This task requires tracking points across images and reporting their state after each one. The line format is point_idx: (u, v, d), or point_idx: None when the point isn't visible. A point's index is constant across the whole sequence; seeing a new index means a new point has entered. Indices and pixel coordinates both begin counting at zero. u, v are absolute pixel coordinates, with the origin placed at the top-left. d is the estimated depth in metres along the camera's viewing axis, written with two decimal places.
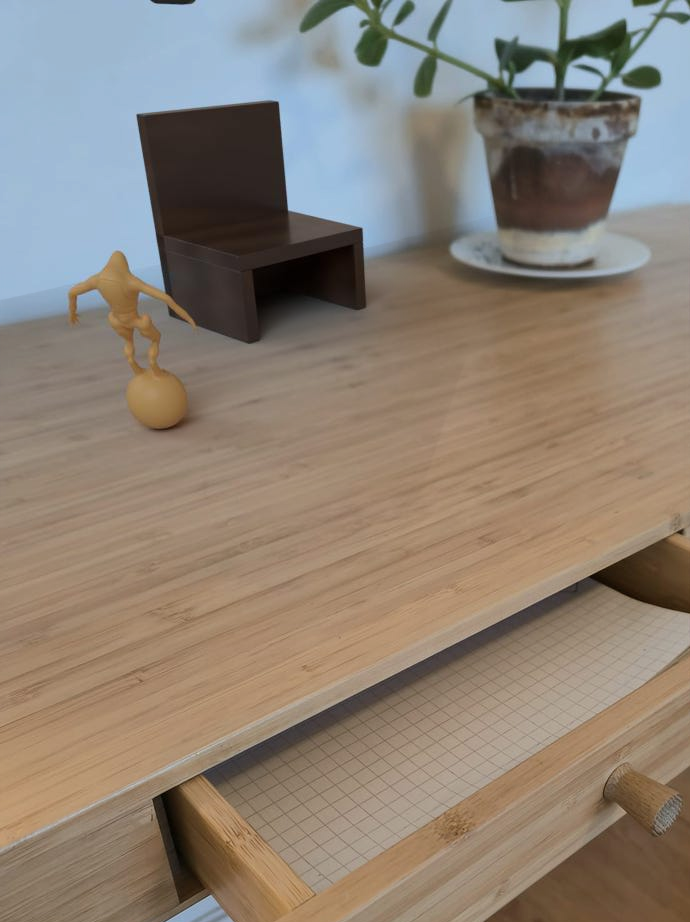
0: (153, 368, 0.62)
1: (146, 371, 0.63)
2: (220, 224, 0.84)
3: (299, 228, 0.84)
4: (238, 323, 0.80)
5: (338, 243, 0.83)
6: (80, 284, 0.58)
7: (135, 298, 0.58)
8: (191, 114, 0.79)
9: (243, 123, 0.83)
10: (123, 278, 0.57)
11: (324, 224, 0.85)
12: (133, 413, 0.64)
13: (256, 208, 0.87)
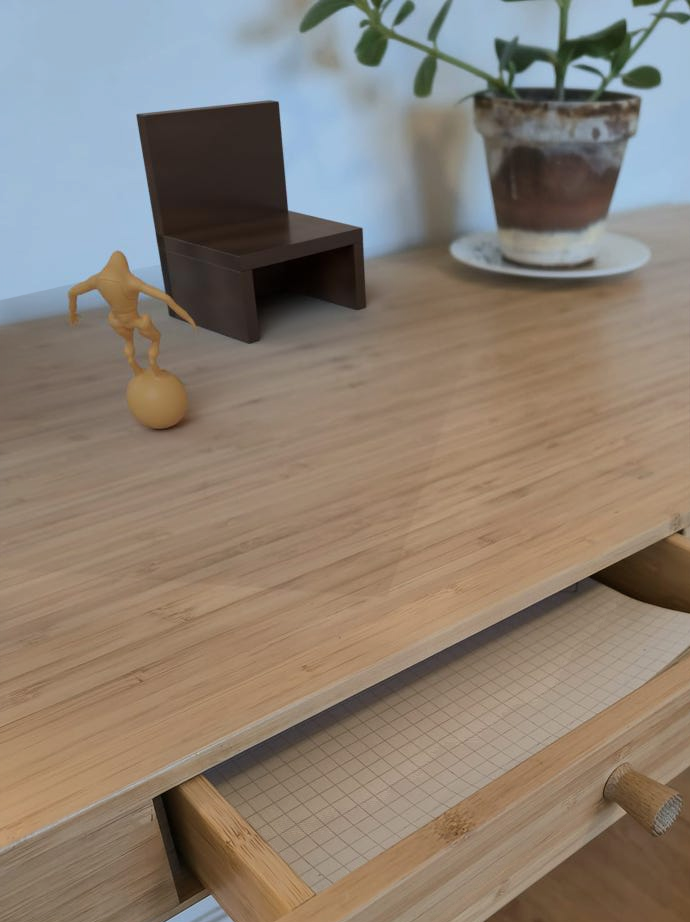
0: (153, 368, 0.62)
1: (146, 371, 0.63)
2: (220, 224, 0.84)
3: (299, 228, 0.84)
4: (238, 323, 0.80)
5: (338, 243, 0.83)
6: (80, 284, 0.58)
7: (135, 298, 0.58)
8: (191, 114, 0.79)
9: (243, 123, 0.83)
10: (123, 278, 0.57)
11: (324, 224, 0.85)
12: (133, 413, 0.64)
13: (256, 208, 0.87)
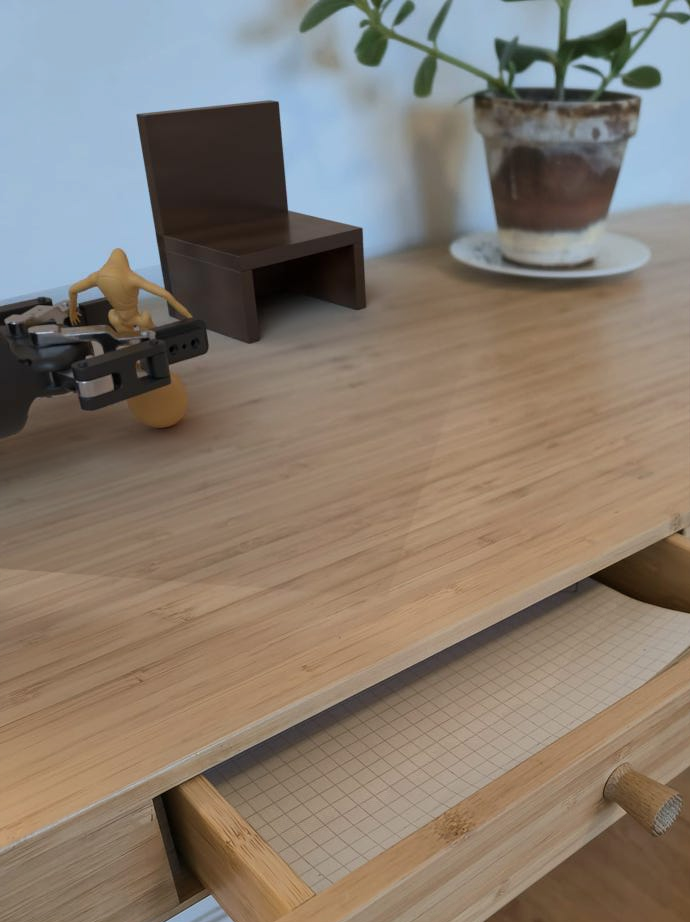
0: None
1: None
2: (220, 224, 0.84)
3: (299, 228, 0.84)
4: (238, 323, 0.80)
5: (338, 243, 0.83)
6: (80, 281, 0.58)
7: (135, 295, 0.58)
8: (191, 114, 0.79)
9: (243, 123, 0.83)
10: (124, 275, 0.57)
11: (324, 224, 0.85)
12: (133, 412, 0.64)
13: (256, 208, 0.87)
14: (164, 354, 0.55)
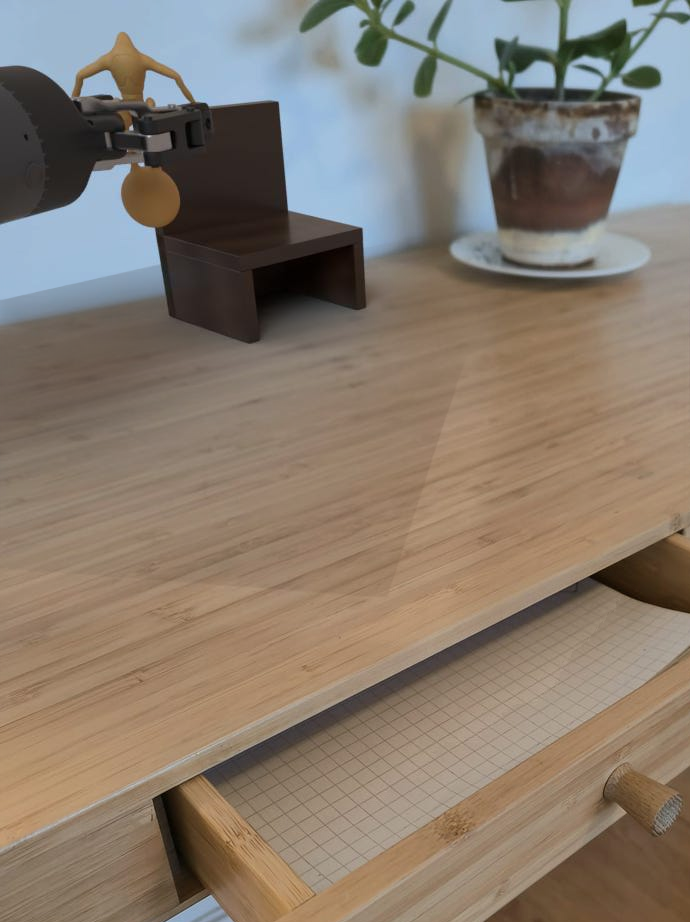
0: None
1: (141, 167, 0.66)
2: (220, 224, 0.84)
3: (299, 228, 0.84)
4: (238, 323, 0.80)
5: (338, 243, 0.83)
6: (90, 65, 0.60)
7: (144, 78, 0.62)
8: None
9: (243, 123, 0.83)
10: (138, 54, 0.60)
11: (324, 224, 0.85)
12: (134, 209, 0.67)
13: (256, 208, 0.87)
14: (201, 121, 0.60)
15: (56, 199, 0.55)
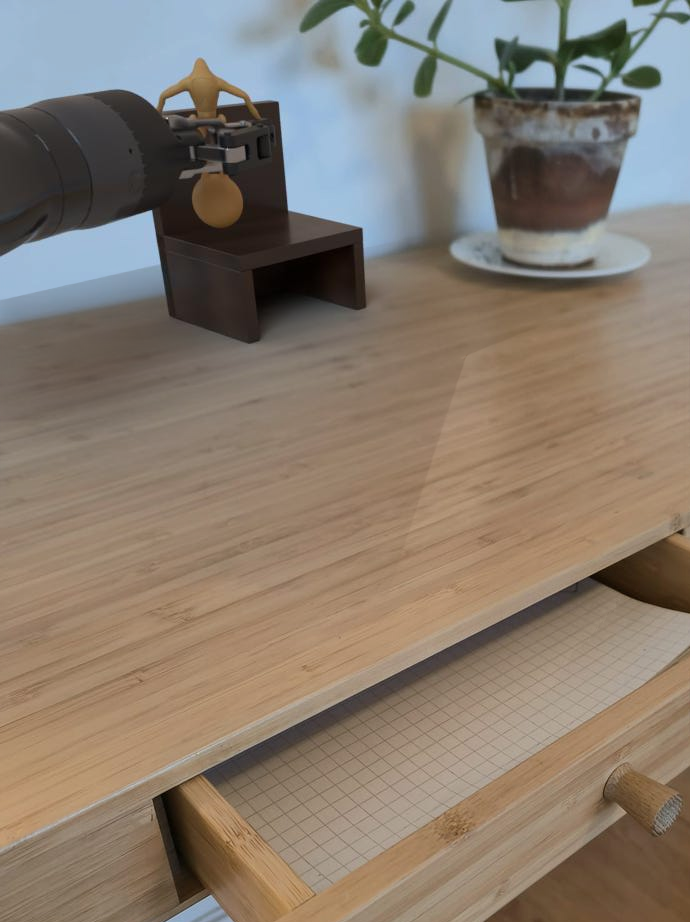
0: None
1: (210, 174, 0.76)
2: None
3: (299, 228, 0.84)
4: (238, 323, 0.80)
5: (338, 243, 0.83)
6: (172, 87, 0.70)
7: None
8: (191, 114, 0.79)
9: None
10: (214, 78, 0.70)
11: (324, 224, 0.85)
12: (204, 211, 0.76)
13: (256, 208, 0.87)
14: (269, 136, 0.69)
15: (149, 203, 0.65)
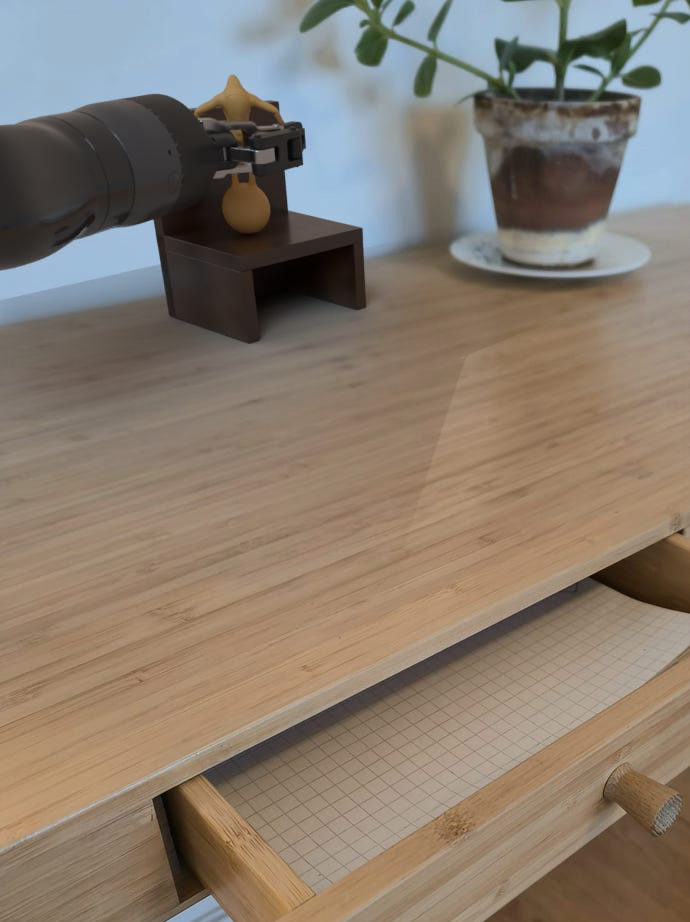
0: (252, 177, 0.79)
1: (240, 183, 0.80)
2: (220, 224, 0.84)
3: (299, 228, 0.84)
4: (238, 323, 0.80)
5: (338, 243, 0.83)
6: (207, 102, 0.73)
7: (249, 113, 0.75)
8: None
9: None
10: (246, 94, 0.73)
11: (324, 224, 0.85)
12: (234, 219, 0.80)
13: None
14: (301, 138, 0.72)
15: (185, 202, 0.68)
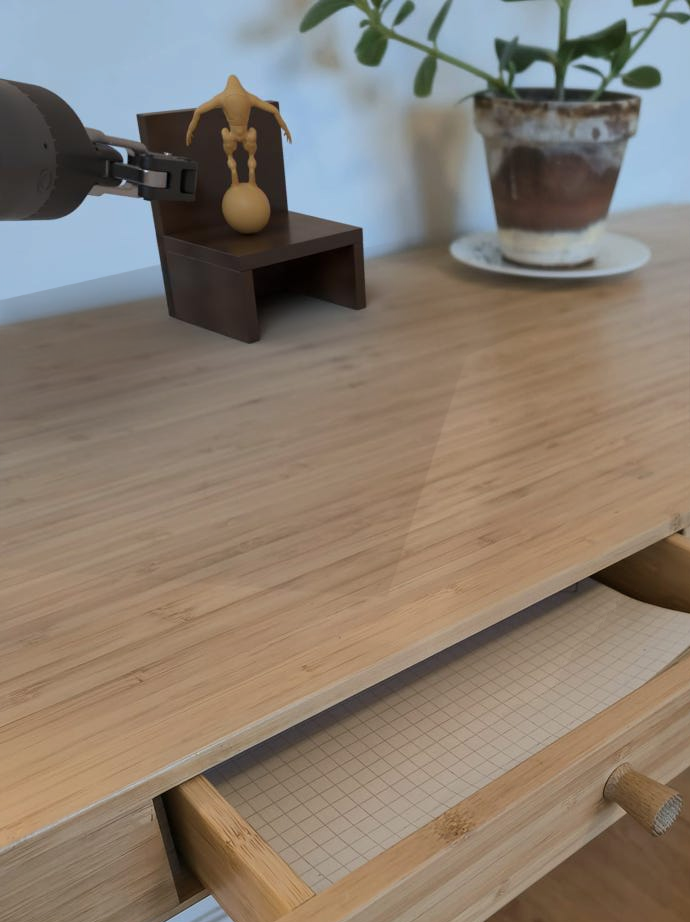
0: (252, 177, 0.79)
1: (240, 183, 0.80)
2: (220, 224, 0.84)
3: (299, 228, 0.84)
4: (238, 323, 0.80)
5: (338, 243, 0.83)
6: (207, 102, 0.73)
7: (249, 113, 0.75)
8: (191, 114, 0.79)
9: None
10: (246, 94, 0.73)
11: (324, 224, 0.85)
12: (234, 219, 0.80)
13: None
14: (196, 172, 0.64)
15: (53, 210, 0.58)
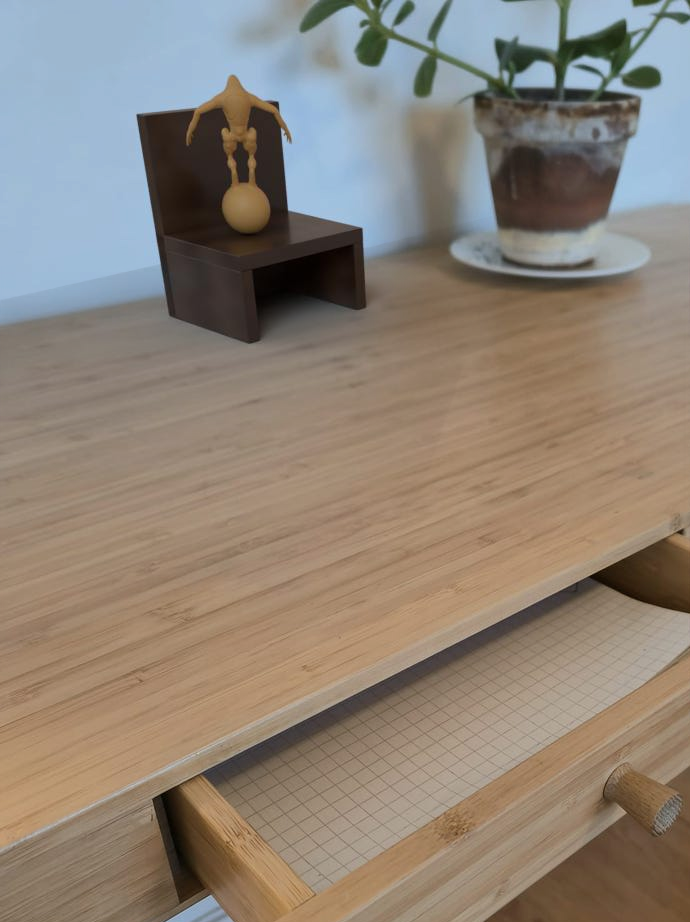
0: (252, 177, 0.79)
1: (240, 183, 0.80)
2: (220, 224, 0.84)
3: (299, 228, 0.84)
4: (238, 323, 0.80)
5: (338, 243, 0.83)
6: (207, 102, 0.73)
7: (249, 113, 0.75)
8: (191, 114, 0.79)
9: None
10: (246, 94, 0.73)
11: (324, 224, 0.85)
12: (234, 219, 0.80)
13: None
14: None
15: None
